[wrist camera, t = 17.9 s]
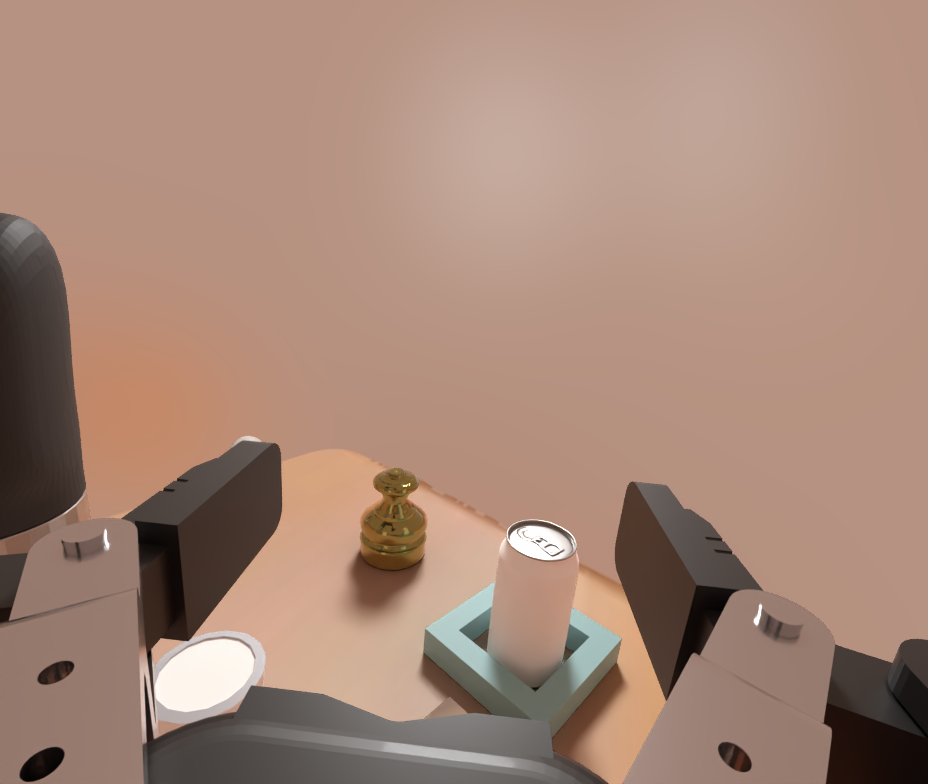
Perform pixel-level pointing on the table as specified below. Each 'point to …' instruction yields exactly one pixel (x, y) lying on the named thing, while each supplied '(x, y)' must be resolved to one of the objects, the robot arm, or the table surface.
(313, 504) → the table surface
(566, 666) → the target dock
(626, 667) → the table surface
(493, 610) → the can
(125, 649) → the robot arm
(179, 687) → the white cup
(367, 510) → the gold tiered piece
